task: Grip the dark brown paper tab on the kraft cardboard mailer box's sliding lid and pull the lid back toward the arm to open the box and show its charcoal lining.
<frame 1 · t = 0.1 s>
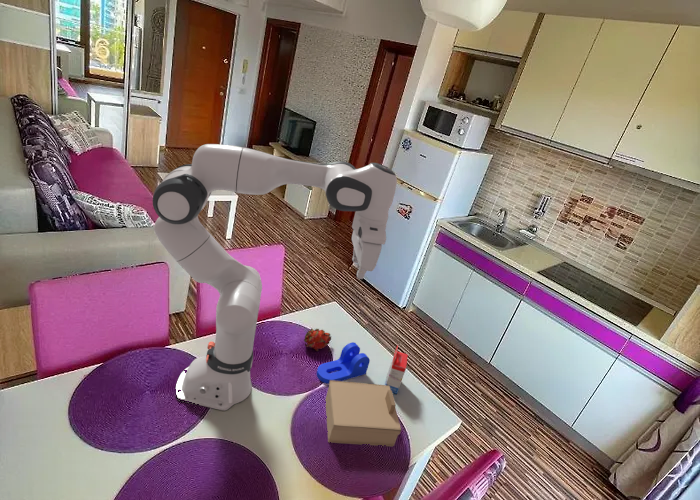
hand: (357, 269, 114), 48 cm above the table, tool pointing down, fingers open, 8 cm apart
dragon fruit: (316, 346, 155), on the table
ink box: (391, 385, 145), on the table
lid: (364, 401, 122), point 9 cm above the table, slide at 0.0 cm
bracket: (339, 372, 145), on the table
mailer box: (357, 422, 126), on the table
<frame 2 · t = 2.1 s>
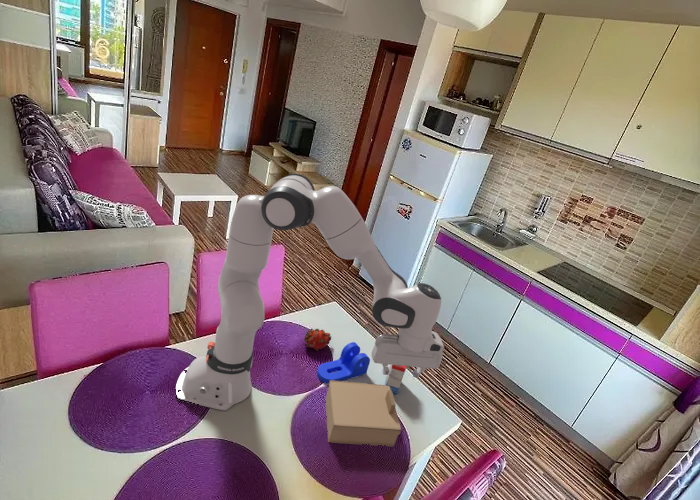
hand: (400, 374, 119), 20 cm above the table, tool pointing down, fingers open, 8 cm apart
nothing on the table moved.
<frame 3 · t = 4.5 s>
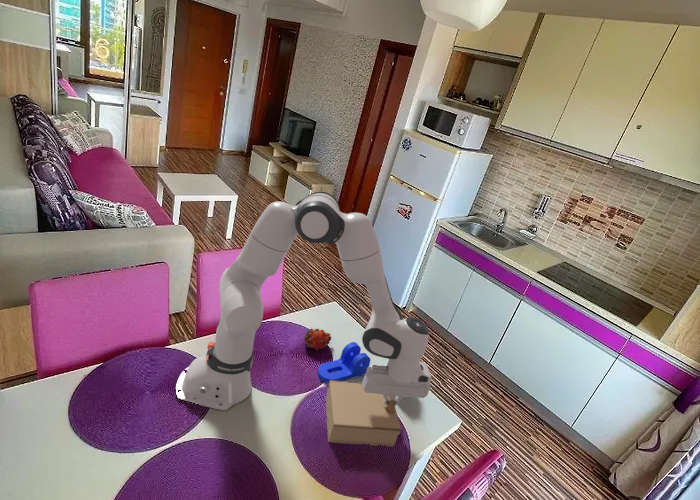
hand: (389, 403, 124), 9 cm above the table, tool pointing down, fingers closed on lid
lid: (364, 401, 122), point 9 cm above the table, slide at 0.0 cm, touching gripper
everything else where it was.
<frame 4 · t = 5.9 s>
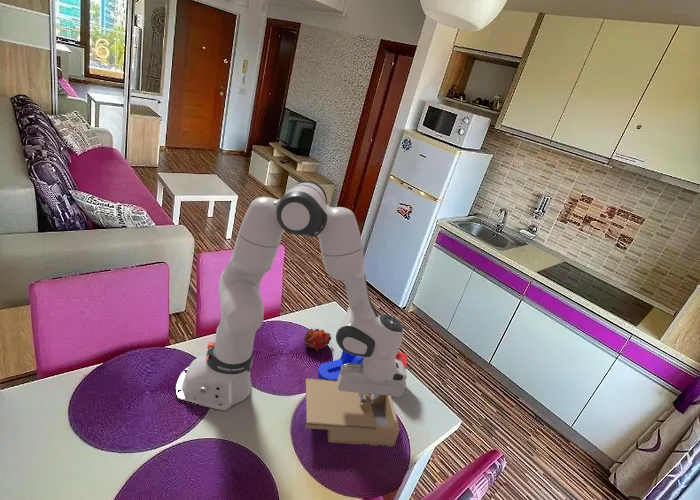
hand: (365, 401, 122), 9 cm above the table, tool pointing down, fingers closed on lid
lid: (339, 399, 121), point 9 cm above the table, slide at 7.7 cm, touching gripper
everything else where it was.
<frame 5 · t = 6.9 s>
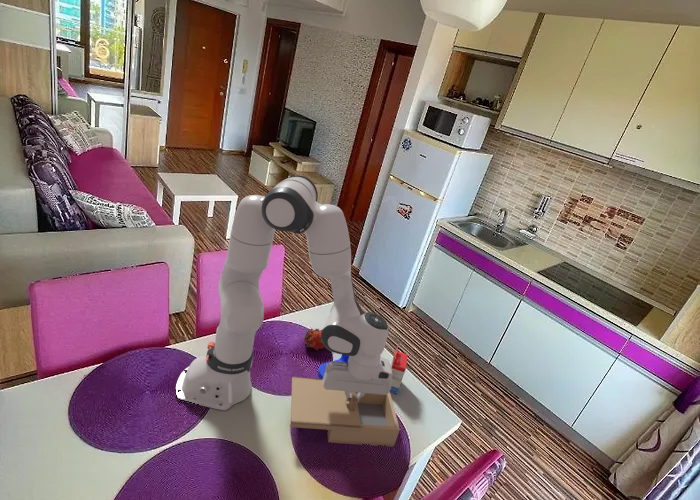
hand: (351, 400, 121), 9 cm above the table, tool pointing down, fingers closed on lid
lid: (325, 398, 120), point 9 cm above the table, slide at 12.1 cm, touching gripper
everything else where it was.
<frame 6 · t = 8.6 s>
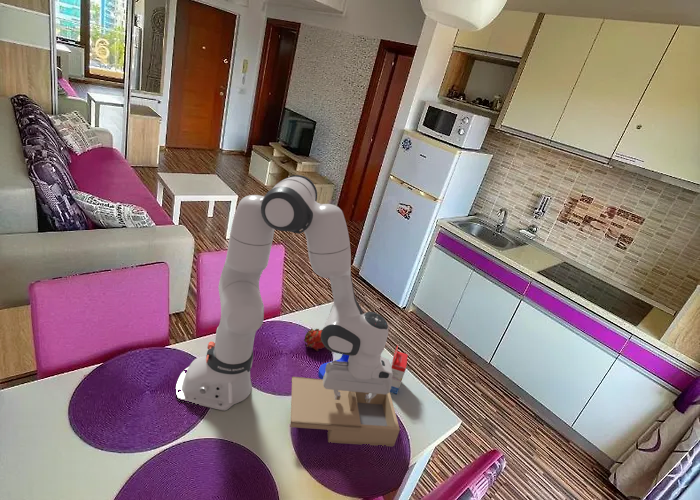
hand: (352, 399, 121), 9 cm above the table, tool pointing down, fingers open, 8 cm apart
lid: (325, 398, 120), point 9 cm above the table, slide at 12.1 cm
everything else where it was.
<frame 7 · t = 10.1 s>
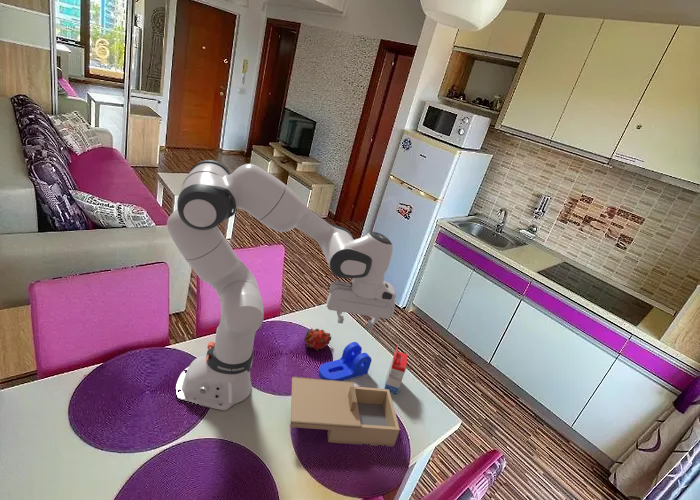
hand: (354, 324, 123), 29 cm above the table, tool pointing down, fingers open, 8 cm apart
nothing on the table moved.
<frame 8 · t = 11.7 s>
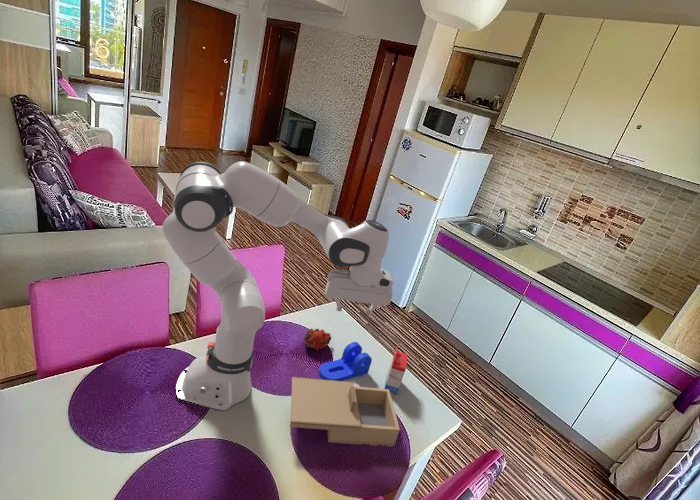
hand: (353, 312, 125), 31 cm above the table, tool pointing down, fingers open, 8 cm apart
nothing on the table moved.
at the end: lid slide at 12.1 cm; the gripper is holding nothing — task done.
